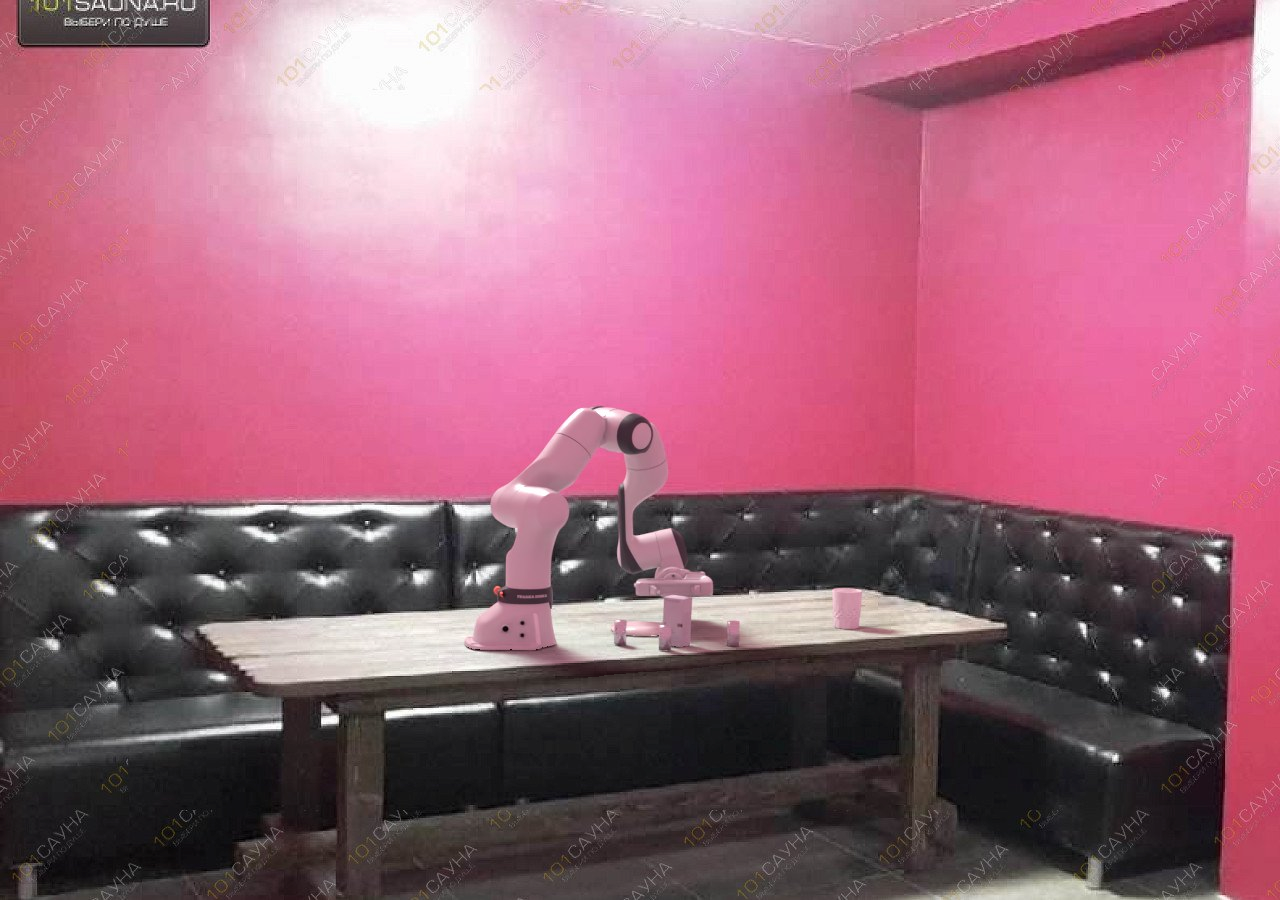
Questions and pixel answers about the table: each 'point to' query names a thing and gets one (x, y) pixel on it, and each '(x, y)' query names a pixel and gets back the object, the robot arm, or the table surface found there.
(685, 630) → the skincare box
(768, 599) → the table surface
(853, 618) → the pink cup
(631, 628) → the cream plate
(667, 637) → the posts
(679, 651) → the table surface
